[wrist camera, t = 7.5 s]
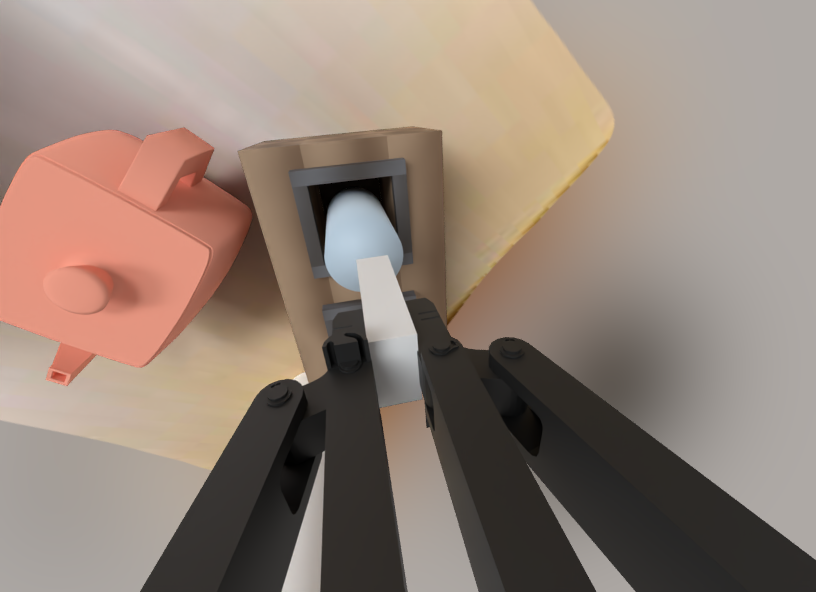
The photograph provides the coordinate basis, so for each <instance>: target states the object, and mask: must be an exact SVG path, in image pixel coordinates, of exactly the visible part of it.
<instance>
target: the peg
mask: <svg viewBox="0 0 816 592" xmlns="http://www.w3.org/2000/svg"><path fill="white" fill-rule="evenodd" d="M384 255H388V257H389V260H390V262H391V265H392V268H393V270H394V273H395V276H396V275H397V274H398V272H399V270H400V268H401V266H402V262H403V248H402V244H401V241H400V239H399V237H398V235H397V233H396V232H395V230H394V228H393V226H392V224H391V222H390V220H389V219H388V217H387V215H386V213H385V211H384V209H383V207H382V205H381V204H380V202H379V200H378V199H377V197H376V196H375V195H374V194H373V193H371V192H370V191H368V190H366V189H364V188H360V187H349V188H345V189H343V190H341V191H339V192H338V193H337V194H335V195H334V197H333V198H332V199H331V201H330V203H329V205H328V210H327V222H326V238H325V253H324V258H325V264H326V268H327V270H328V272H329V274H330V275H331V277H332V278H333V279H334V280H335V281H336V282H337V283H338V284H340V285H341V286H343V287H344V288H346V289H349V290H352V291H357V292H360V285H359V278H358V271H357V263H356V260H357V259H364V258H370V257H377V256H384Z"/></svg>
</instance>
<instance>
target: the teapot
mask: <svg viewBox="0 0 816 592" xmlns="http://www.w3.org/2000/svg"><path fill="white" fill-rule="evenodd" d="M213 151H214V147H212V146H211V145H209V144H208V143H206V142H205V141H203V140H202V139H200V138H199V137H197V136H196V135H195V134H193V133H192V132H190V131H189V130H187V129H186V128H180V129H175V130H170V131H166V132H161V133H156V134H152V135H147V136H146V138H145V140H144V141H142V140H140V139H139V138H137V137H134V136H132V135H130V134H127V133H124V132H121V131H118V130H102V131H95V132H90V133H85V134H81V135H78V136H74V137H71V138H68V139H66V140H63V141H60V142H58V143H55V144H52V145H50V146H47V147H45V148H42V149H40V150H38V151H36V152H34V153H32V154H30V155H29V156H27V158H26V159H25V160H24V161H23V163H22V164H21V166H20V167H19V169H18V171H17V172H16V174H15V176H14V178H13V180H12V182H11V184H10V186H9V188H8V190H7V192H6V194H5V197H4V199H3V201H2V203H1V206H0V321H3V322H6V323H8V324H11V325H14V326H16V327H19V328H22V329H24V330H27V331H30V332H33V333H35V334H38V335H41V336H44V337H47V338H49V339H52V340H55V341H58V342H61V343H60V346H59V348H58V351H57V354H56V356H55V359H54V361H53V364H52V365H51V366H50V367H49V370H48V374H47V377H46V380H48V381H52V382H55V383H58V384H62V385H65V386H68V384H69V383H70V382H71V381H72V380H73V379H74V378H75V377H76V376H77V375H78V374H79V373H80V372H81V371H82V370H83V369H84V368H85V367H86V366H87V364H88V363H89V362H90V361H91V360H92V359H93V358H94V357H95V356H96V355H99V356H102V357H105V358H109V359H112V360H115V361H118V362H121V363H124V364H128V365H131V366H134V367H140V368H141V367H144V366H146V365H147V364H148V363H150V362H151V361H152V360H153V359H154V358H155V357H156V356H157V355H158V354H159V353H161V352H162V351H163V350H164V349H165V348H166V347H167V346H168V345H169V344H170V343H171V342H172V341H173V340H174V339H176V338H177V337H178V335H179V334H180V333H181V332H182V331H183V330H184V329H185V328H186V327H187V325H188V324H189V323H190V322H191V321H192V320H193V319H194V317H195V316H196V315H197V314H198V312H199V311H200V310H201V309H202V308H203V306H204V305H205V304H206V303H207V301H208V300H209V299H210V298H211V296H212V295H213V294H214V292H215V291H216V289H217V288H218V287H219V285H220V284H221V282H222V281H223V279H224V278H225V276H226V274H227V273H228V271H229V269H230V268H231V266H232V264H233V262H234V260H235V258H236V256H237V254H238V252H239V250H240V248H241V246H242V244H243V242H244V239H245V237H246V235H247V232H248V230H249V228H250V224H251V221H252V212H251V209H250V208H249V207H248V206H246V205H245V204H244V203H242V202H241V201H239V200H238V199H237V198H235V197H234V196H232V195H231V194H229V193H228V192H226V191H224V190H223V189H221V188H220V187H218V186H217V185H215V184H214V183H212V182H210V181H209V180H207V179H206V178H204V177H203V176H204V174H205V171H206V169H207V166H208V164H209V161H210V159H211V156H212V153H213Z"/></svg>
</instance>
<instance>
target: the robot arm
mask: <svg viewBox="0 0 816 592" xmlns="http://www.w3.org/2000/svg"><path fill="white" fill-rule="evenodd" d="M356 263H357V271H358V278H359V285H360V293H361V300H362V308H363V309H358V310H352V311H346V312H340V313H338V314H337V315H336V316H335V318H334V319H333V322H332V329H333V330H332V336H330V337H329V338H328V339H327V340H326V341H325V342H324V343H323V346H322V350H323V354H324V358H325V362H326V366H327V369H328V371H327V372H326V373H325V374H324V375H323V376H321V377H320V378H319V379H317V380H315V381H313V382H310V383H308V384H306V385H303V386H302V385H301V383H299V382H298V381H296V380H291V379H285V380H279V381H276V382H274V383H271V384H269V385H268V386H266V387H265V388H264V389H262V390H261V391H260V392H259V394H258V395H257V396H256V397H255V399H254V401H253V402H252V404H251V406H250V407H249V409H248V411H247V412H246V414H245V416H244V418H243V419H242V421H241V423H240V424H239V426H238V428H237V429H236V431H235V433H234V434H233V436H232V438H231V439H230V441H229V443H228V444H227V446H226V448H225V450H224V451H223V453H222V455H221V456H220V458H219V460H218V461H217V463H216V465H215V466H214V468H213V470H212V471H211V473H210V475H209V477H208V478H207V480H206V482H205V483H204V485H203V487H202V488H201V490H200V492H199V493H198V495H197V497H196V498H195V500H194V502H193V503H192V505H191V507H190V509H189V510H188V512H187V513H186V515H185V517H184V519H183V520H182V522H181V524H180V525H179V527H178V529H177V530H176V532H175V534H174V536H173V537H172V539H171V540H170V542H169V544H168V545H167V547H166V549H165V551H164V552H163V554H162V556H161V557H160V559H159V561H158V562H157V564H156V566H155V567H154V569H153V571H152V572H151V574H150V576H149V577H148V579H147V581H146V583H145V584H144V586H143V588H142V589H141V591H140V592H282V588H283V585H284V582H285V578H286V575H287V572H288V568H289V565H290V562H291V558H292V555H293V552H294V548H295V545H296V542H297V538H298V535H299V532H300V529H301V525H302V522H303V519H304V515H305V512H306V509H307V505H308V502H309V499H310V495H311V492H312V489H313V485H314V482H315V479H316V475H317V472H318V469H319V465H320V462H321V459H322V452H323V451H325V462H324V493H323V523H322V554H321V584H320V592H408V591H407V585H406V578H405V572H404V565H403V558H402V552H401V545H400V539H399V532H398V525H397V519H396V512H395V505H394V499H393V492H392V486H391V480H390V473H389V466H388V459H387V452H386V446H385V439H384V433H383V426H382V420H381V414H380V408H382V407H387V406H392V405H397V404H401V403H407V402H412V401H417V400H421V399H422V394H423V397H424V400H425V412H426V426H427V428H428V427H430V428H431V432H432V436H433V439H434V442H435V446H436V449H437V452H438V456H439V459H440V463H441V466H442V469H443V473H444V476H445V479H446V482H447V486H448V490H449V493H450V496H451V500H452V503H453V506H454V510H455V513H456V516H457V520H458V523H459V527H460V530H461V533H462V537H463V540H464V544H465V547H466V550H467V554H468V557H469V560H470V563H471V567H472V570H473V574H474V577H475V581H476V584H477V587H478V591H479V592H596V590H595V588H594V586H593V585H592V583H591V581H590V579H589V577H588V575H587V574H586V572H585V570H584V568H583V566H582V564H581V563H580V561H579V559H578V557H577V555H576V553H575V551H574V550H573V548H572V546H571V544H570V542H569V540H568V539H567V537H566V535H565V533H564V531H563V529H562V528H561V526H560V524H559V522H558V520H557V518H556V517H555V515H554V513H553V511H552V509H551V508H550V506H549V504H548V502H547V500H546V498H545V496H544V495H543V493H542V491H541V489H540V487H539V485H538V483H537V482H536V480H535V478H534V476H533V474H532V472H531V471H530V469H529V467H528V465H529V466H530V468H532V470H533V471H534V472H535V473H536V475H537V476H538V477H539V478H540V479H541V481H542V482H543V483H544V484H545V485H546V486H547V488H548V489H549V490H550V491H551V492H552V494H553V495H554V496H555V497H556V498H557V499H558V501H559V502H560V503H561V504H562V505H563V506H564V508H565V509H566V510H567V511H568V512H569V514H570V515H571V516H572V517H573V518H574V519H575V520H576V522H577V523H578V524H579V525H580V526H581V528H582V529H583V530H584V531H585V532H586V534H587V535H588V536H589V537H590V538H591V539H592V541H593V542H594V543H595V544H596V545H597V546H598V548H599V549H600V550H601V551H602V552H603V554H604V555H605V556H606V557H607V558H608V560H609V561H610V562H611V563H612V564H613V565H614V567H615V568H616V569H617V570H618V571H619V572H620V574H621V575H622V576H623V577H624V578H625V579H626V581H627V582H628V583H629V584H630V585H631V587H632V588H633V589H634V590H635V591H636V592H816V560H815V559H813V558H812V557H811V556H809V555H808V554H807V553H806V552H804V551H803V550H802V549H800V548H799V547H798V546H796V545H795V544H794V543H792V542H791V541H790V540H788V539H787V538H786V537H784V536H783V535H782V534H780V533H779V532H778V531H776V530H775V529H774V528H773V527H771V526H770V525H769V524H767V523H766V522H765V521H763V520H762V519H760V518H759V517H758V516H757V515H755V514H754V513H753V512H751V511H750V510H749V509H747V508H746V507H745V506H743V505H742V504H741V503H739V502H738V501H737V500H735V499H734V498H733V497H731V496H730V495H729V494H727V493H726V492H725V491H723V490H722V489H721V488H720V487H718V486H717V485H716V484H714V483H713V482H711V481H710V480H709V479H707V478H706V477H705V476H704V475H702V474H701V473H700V472H698V471H697V470H696V469H694V468H693V467H692V466H690V465H689V464H688V463H686V462H685V461H684V460H682V459H681V458H680V457H678V456H677V455H676V454H674V453H673V452H672V451H671V450H669V449H668V448H667V447H665V446H664V445H663V444H661V443H660V442H659V441H657V440H656V439H655V438H653V437H652V436H650V435H649V434H648V433H646V432H645V431H644V430H643V429H641V428H640V427H639V426H637V425H636V424H635V423H633V422H632V421H631V420H629V419H628V418H627V417H625V416H624V415H623V414H621V413H620V412H619V411H618V410H616V409H615V408H613V407H612V406H611V405H609V404H608V403H607V402H606V401H604V400H603V399H602V398H600V397H599V396H598V395H596V394H595V393H594V392H592V391H591V390H590V389H588V388H587V387H586V386H584V385H583V384H582V383H580V382H579V381H578V380H576V379H575V378H574V377H572V376H571V375H570V374H568V373H567V372H566V371H564V370H563V369H562V368H561V367H559V366H558V365H556V364H555V363H554V362H553V361H551V360H550V359H549V358H547V357H546V356H544V355H543V354H542V353H541V352H539V351H538V350H537V349H535V348H534V347H533V346H531V345H530V344H529V343H527V342H525V341H523V340H520V339H517V338H509V337H505V338H500V339H497V340H495V341H493V342H492V343H491V345H490V346H489V350H474V349H468V348H464V347H463V346H462V344H461V343H460V342H459V341H458V340H457V339H455V338H453V337H451V336H450V334H449V332H448V330H447V328H446V326H445V324H444V322H443V320H442V319H441V317H440V315H439V313H438V311H437V309H436V307H435V305H434V303H433V302H431V301H430V300H428V299H427V298H419V299H413V300H407V301H405V300H404V298H403V295H402V292H401V289H400V287H399V284H398V281H397V279H396V276H395V273H394V270H393V268H392V265H391V262H390V260H389V257H388V255H384V256H377V257H370V258H364V259H357V260H356ZM527 464H528V465H527Z"/></svg>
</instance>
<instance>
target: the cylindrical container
mask: <svg viewBox="0 0 816 592" xmlns="http://www.w3.org/2000/svg"><path fill="white" fill-rule="evenodd" d="M293 380H296V381H298V382H299V383H301V385H302V386H303V385H306V384H308V380H307V376H306V373H305V372H303V373H301V374H299V375H297V376H296V377H295V378H294V379H293ZM324 462H325V451H323V452H322V459H321V462H320V465H319V469H318V472H317V475H316V479H315V482H314V485H313V489H312V492H311V495H310V499H309V502H308V505H307V509H306V512H305V515H304V519H303V522H302V525H301V529H300V532H299V535H298V538H297V542H296V545H295V548H294V552H293V555H292V558H291V562H290V565H289V568H288V572H287V575H286V578H285V582H284V585H283V588H282V592H320V584H321V554H322V523H323V493H324Z"/></svg>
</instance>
